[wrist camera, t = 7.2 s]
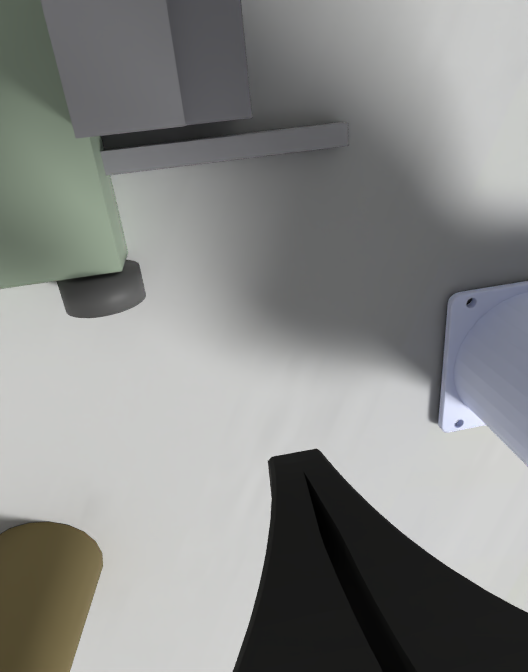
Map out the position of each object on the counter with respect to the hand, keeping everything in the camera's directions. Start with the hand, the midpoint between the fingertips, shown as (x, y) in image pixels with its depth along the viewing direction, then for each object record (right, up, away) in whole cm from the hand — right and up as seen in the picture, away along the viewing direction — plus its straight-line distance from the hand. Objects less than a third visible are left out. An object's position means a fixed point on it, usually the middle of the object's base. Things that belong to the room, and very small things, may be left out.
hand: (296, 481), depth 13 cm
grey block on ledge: (-5, +14, +4) cm, 15 cm away
